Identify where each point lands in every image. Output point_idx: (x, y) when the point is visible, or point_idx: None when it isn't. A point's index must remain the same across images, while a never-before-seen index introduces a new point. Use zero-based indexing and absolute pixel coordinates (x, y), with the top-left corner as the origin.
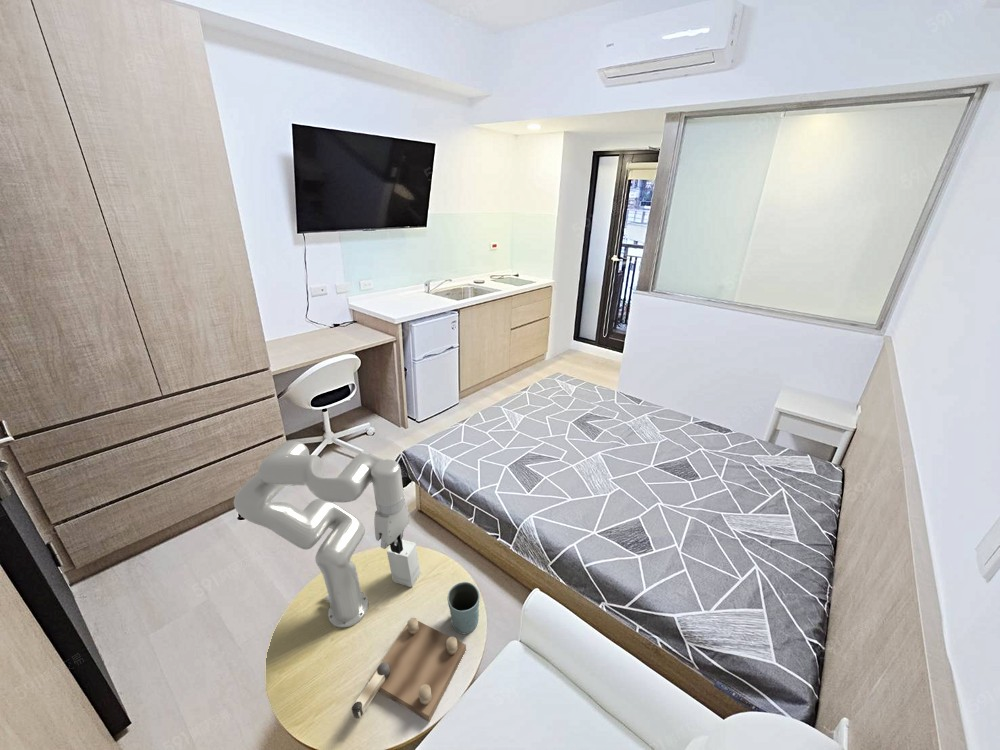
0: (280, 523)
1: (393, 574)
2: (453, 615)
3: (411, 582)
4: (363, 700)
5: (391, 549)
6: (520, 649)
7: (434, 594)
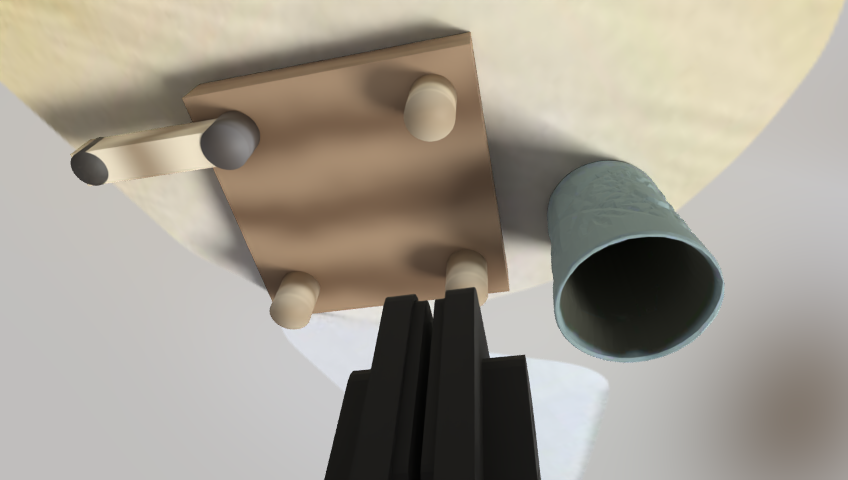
0: None
1: None
2: (555, 257)
3: None
4: (116, 171)
5: (348, 397)
6: (601, 382)
7: (653, 11)
